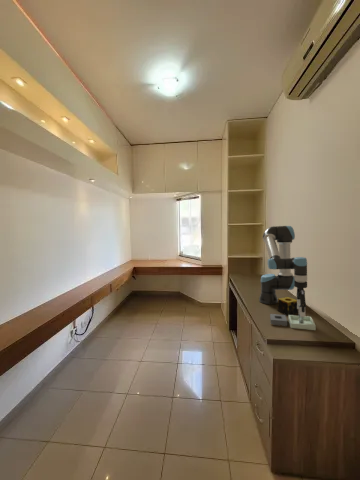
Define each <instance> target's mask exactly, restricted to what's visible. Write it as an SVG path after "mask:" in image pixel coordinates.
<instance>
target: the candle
mask: <svg viewBox="0 0 360 480" xmlns="http://www.w3.org/2000/svg"><path fill="white" fill-rule="evenodd" d="M277 304H278V306H277V312H280V313H281V314H282V315H286V316H288V315H296V314H299V309H297V299H295V298H292V297H289V296H285V297H281V298H280V297H279V298H278V303H277Z"/></svg>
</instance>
